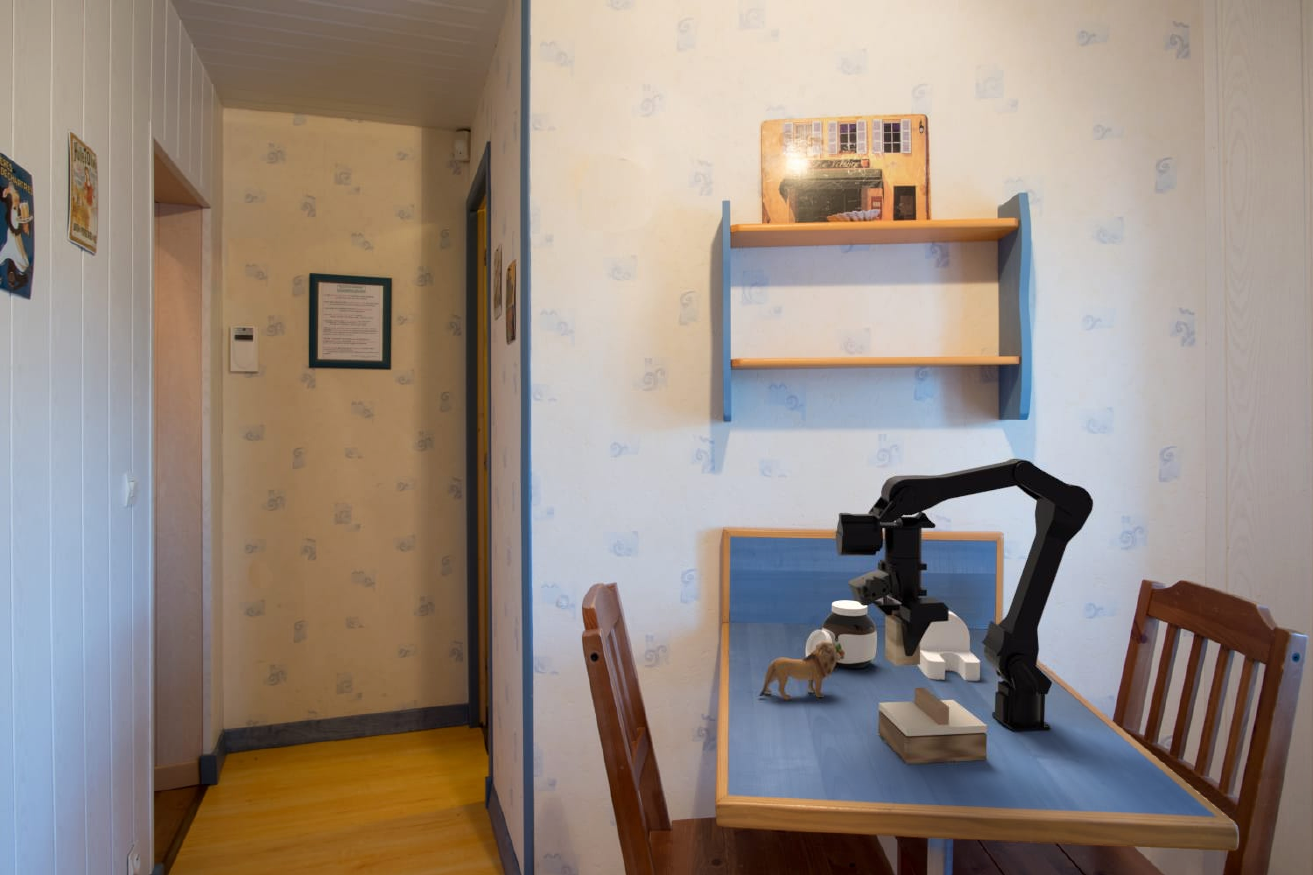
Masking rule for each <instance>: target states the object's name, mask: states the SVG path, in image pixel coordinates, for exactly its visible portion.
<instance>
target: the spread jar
mask: <svg viewBox="0 0 1313 875" xmlns="http://www.w3.org/2000/svg"><path fill="white" fill-rule="evenodd" d="M876 627H877V626H876V624H875V621H873V619H872V618H871V617H870V616H869V615H868V605H866V606H863V605H861V604H860V603H859V602H858V601H855V600H835V601H833V602H832V603H831V613H830V614H828V615H827V617H825V620H824V621H823V623H822V629H815V630H814V631H812V632H811V633H810V635H809V636H808V638H807V640H806V644H805V658H806V657H807V656H808V655H810V654H811V652H813V651H814V650H815V649H816V645H817V644H819V643H822V642H823V641H824V642H825V641H826V642H830V643H832V644H833V645H835V646H836V651H837V654H838V655H837V660H836V665H835V667H837V668H840V669H841V668H842V669H847V668H859V669H862V668H865V667H867V666H869V664H870V663H872V661H873V660H874V659H875V657H876V654H877V643H878V642H877V633H878V632H877V628H876Z"/></svg>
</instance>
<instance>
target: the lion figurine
mask: <svg viewBox="0 0 1313 875" xmlns="http://www.w3.org/2000/svg"><path fill="white" fill-rule="evenodd" d="M837 655H838V654H837V651H836V646H835V645H833V644H832V643H830V642H826V641H825V642H824V641H823V642H822V643H819V644H817V645H816V649H815V650H814V651H813V652H811V654H810V655H808V656H807V657H806V656H805V657H804V658H801V659H799V658H797V659H792V658H788V657H778V658H776V659H774V660H772V662H771V663H770V664H769V666H768V667H767V671H766V674H765V679H764V682H763V688H762V690H761V691H760V693H759V694H758V696H759V697H763V696H764V695H771V694H772V690H771V689H769V687H770V685H771V684H773V683H774V682H775V681H776V680H777V681H778V689H777V691H778V692H779V694H780V695H781V697H782V699H783V700H787V701H789V700H792V698H791V696H790V694H787V693H786V692H785V691H786V690H785V689H786V685H787V683H788V681H789V677H790V678H791V679H793V680H795V681H807V691H808V693H810V694H811V693H812V694H815V696H816V697H817V698H819V697H823V698H824V696H825V695H824V694H823V693H821V690H822V686H823V679H826V678H829V677H830V676H831V675H832V673H833V671H834V668H835V667H836V666H835V665H836V660H837ZM814 692H815V693H814Z"/></svg>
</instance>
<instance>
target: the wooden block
mask: <svg viewBox="0 0 1313 875" xmlns="http://www.w3.org/2000/svg"><path fill="white" fill-rule="evenodd" d="M893 614H901V613H900V610H892V615H886V616H885V617H884V622H885V625H884V626H885V628H884V630H885V634H884V636H885V640H884V642H885V651H884V652H885V654H884V655H885V656H884V657H885V659H886V660H887V661H889V662H890V663H892V665H894V666H896V667H901V666H903V667H904V666H905V667H906V666H918V665H920V643H919V645H918V647H917V649H916V651H915V653H914V654H913V656H906V655H905V650H904V643H903V635H902V627H901V623H900V622H899V621H898V620H897V619H896V618H895V617H894V616H893Z"/></svg>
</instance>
